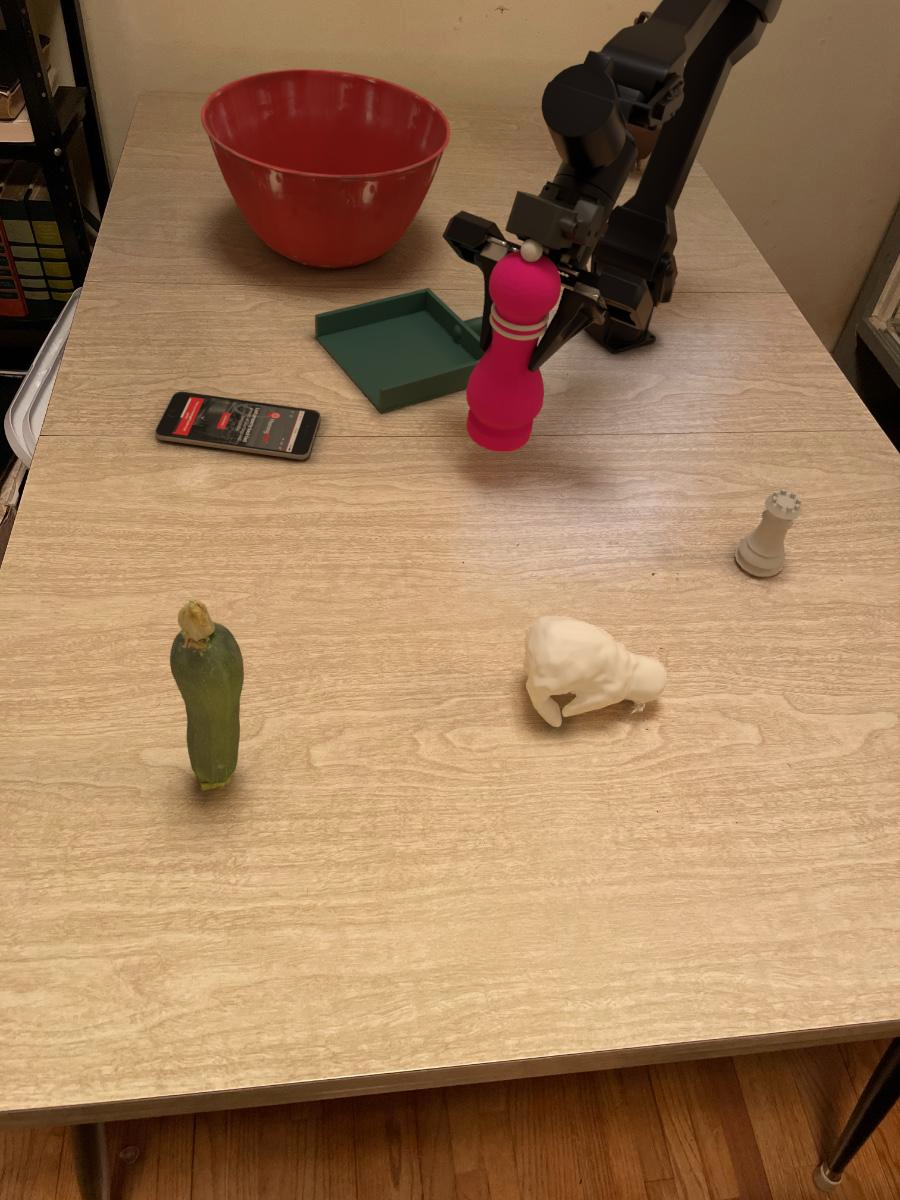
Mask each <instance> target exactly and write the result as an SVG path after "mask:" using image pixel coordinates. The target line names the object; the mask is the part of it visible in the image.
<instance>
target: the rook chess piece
mask: <svg viewBox="0 0 900 1200" xmlns="http://www.w3.org/2000/svg"><path fill="white" fill-rule="evenodd" d="M797 495H798V494H797V493H796V492H794V491H793V490H792V491H791V493H790V494H788V489H786V488H785V489H784V488H781V489H780V491H779V490H775V491H774V492H773V493H772V494H771V495H769V496H768V497H766V498H765V501H764V505H765V510H763V511H762V514H761V518H762V519H761V521H760V523H759V524H758V525H757V527H756V528H755V530H754V531H751V532H750V533H749V534H747V535H746V536H744V538H742V539H741V540H740V541H739V545H738V546H737V547H736V548H735V552H734V556H735V560H736V562H737V564H738V565H739V567H740V568H741V570H742V571H744V572H746V573H747V574H749V575H751V576H755V577H758V578H768V577H772V576H775V575H778V573H779V572H780V571H782V568H783V564H784V563H785V559H786V551H785V547H786V546H785V545H784V543H785V539H786V535H787V532H788V531H789V530H790V529H791V528H793V525H794V520H796V519H798V518H799V517H801V516H802V513H803V509H802V507H801V506H802V505H801V504H802V502H803V501H802V498H801V497H797ZM796 497H797V498H796Z"/></svg>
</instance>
